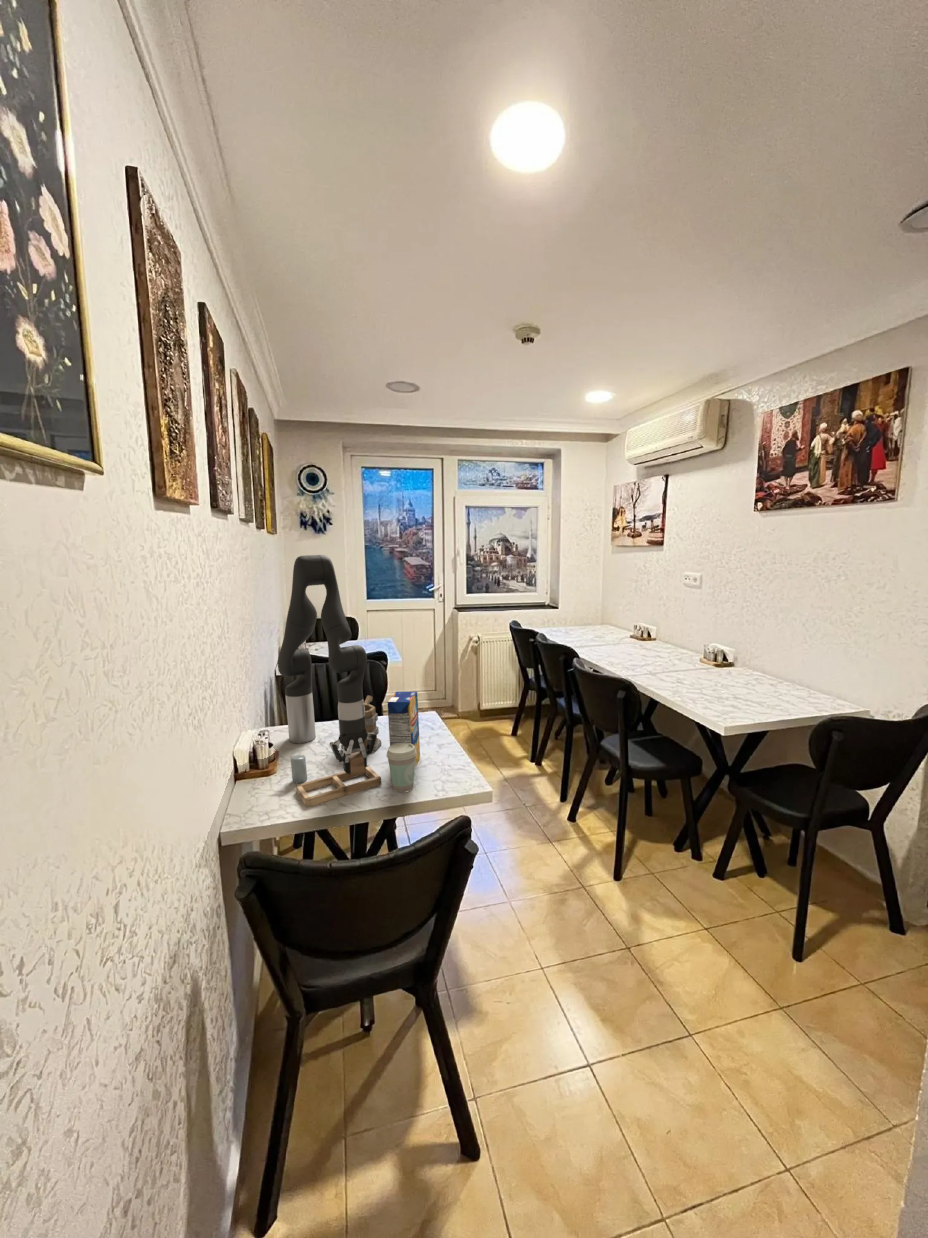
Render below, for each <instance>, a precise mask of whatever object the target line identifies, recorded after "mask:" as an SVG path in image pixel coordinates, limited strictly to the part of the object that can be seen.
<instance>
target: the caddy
mask: <svg viewBox="0 0 928 1238" xmlns="http://www.w3.org/2000/svg"><path fill="white" fill-rule="evenodd" d="M362 775H366V776H367V777H368V779H365V780H362V781H358V782H355V783H352V784H348V785H346V784H345V783H344V782H343V781H345V780H348V779H352V778H355V777H358V776H362ZM332 784H333V785H334V787H336V789H331V790H329V791H326V792H322V793H319V794H318V793H317V794H315V795H311V796H310V795H309V794H308V791H310V790H315V789H319V788H321V787H325V786H328V785H332ZM379 785H382V776H381V775H379V774H378V773H377V772H376V771H375V770H374V769H372V768H371V767H370V765H368V764H367V767H365V773H361V774H358V775H354V776H351V775H350V774H347V773H346V772H345V771H341V772H339V773H335V774H331V775H327V776H324V777H320V778H317V779H313V780H310V781H305V782H303V783H298V784H296V785H295V788H296V793H297V795H298V796H299V798H300V799H301V800H302V802H303V804H304V805H305V806H306V808H308V807H309V808H310V807H312V806H316V805H318V804H321V803H325V802H328V801H331V800H334V799H338V798H341V797H344V796H347V795H350V794H354V793H357V792H360V791H364V790H366V789H370V788H373V787H376V786H379Z"/></svg>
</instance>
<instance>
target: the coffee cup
mask: <svg viewBox="0 0 928 1238" xmlns="http://www.w3.org/2000/svg"><path fill="white" fill-rule="evenodd" d="M386 751H387V752H386V758H387V760H388V761H387V762H388V766H389V767H388V768H389V772H390V778H391V784H392V788H393V790H394V791H395V792H397V793H407V792H410V791H412V790H413V789H414V785H415V770H416V766H415V758H416V754H417V752H416V749H415V747H414V745H413V744H410V743H397V744H393V745H391V746H390V745H389V746H388V748H387V750H386Z"/></svg>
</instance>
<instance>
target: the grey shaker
mask: <svg viewBox="0 0 928 1238" xmlns="http://www.w3.org/2000/svg"><path fill="white" fill-rule="evenodd" d="M306 758H307V757H306V755H304V754H300V755H294V756H292V757H290V768H291V769H290V770H291V778H292V779H291V780H292V783H293V784H302V783H306V782H307V780H308V773H307V762H306Z"/></svg>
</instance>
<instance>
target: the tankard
mask: <svg viewBox="0 0 928 1238" xmlns="http://www.w3.org/2000/svg"><path fill="white" fill-rule="evenodd" d="M371 702H373V696H372V695H366V698H365V700H364V706H365V721H366V731H367V733H370V732H373V733H374V734H376V740H375V744H374V748H373V752H376V751H377V750H378V749H379V748H380V746H382V740H381V739H380V738H379V737H378V735H379V734H380V733H379V732H380V731H379V727H378V726H377V721H378V719H379V717H378V713H377V712H376V706H374V705H372V704H370V703H371ZM367 742H368V739H367V738H366V740H365V741H364V743H363V744H364V747H365V750H366V746H367ZM340 747H341V750H342V751H343V747H344V746H343V745H342V744H340ZM356 752H359V750H358V749H354V750H352V751H351V754H352V753H356Z"/></svg>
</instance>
